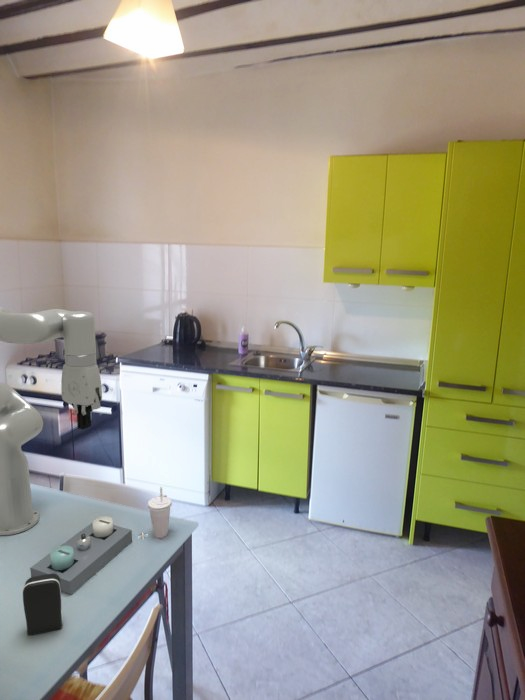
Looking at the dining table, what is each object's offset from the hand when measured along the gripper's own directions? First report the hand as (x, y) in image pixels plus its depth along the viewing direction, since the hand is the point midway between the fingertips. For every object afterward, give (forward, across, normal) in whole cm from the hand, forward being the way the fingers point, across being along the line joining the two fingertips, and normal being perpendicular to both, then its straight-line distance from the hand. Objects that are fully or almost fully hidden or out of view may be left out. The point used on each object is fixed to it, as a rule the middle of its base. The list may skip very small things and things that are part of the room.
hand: (84, 427), depth 126 cm
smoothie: (+30, +18, +7) cm, 36 cm away
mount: (+30, +8, -10) cm, 33 cm away
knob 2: (+29, +8, -3) cm, 30 cm away
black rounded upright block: (+31, +17, -30) cm, 46 cm away
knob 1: (+29, +8, -17) cm, 35 cm away
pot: (+27, +8, -10) cm, 30 cm away
